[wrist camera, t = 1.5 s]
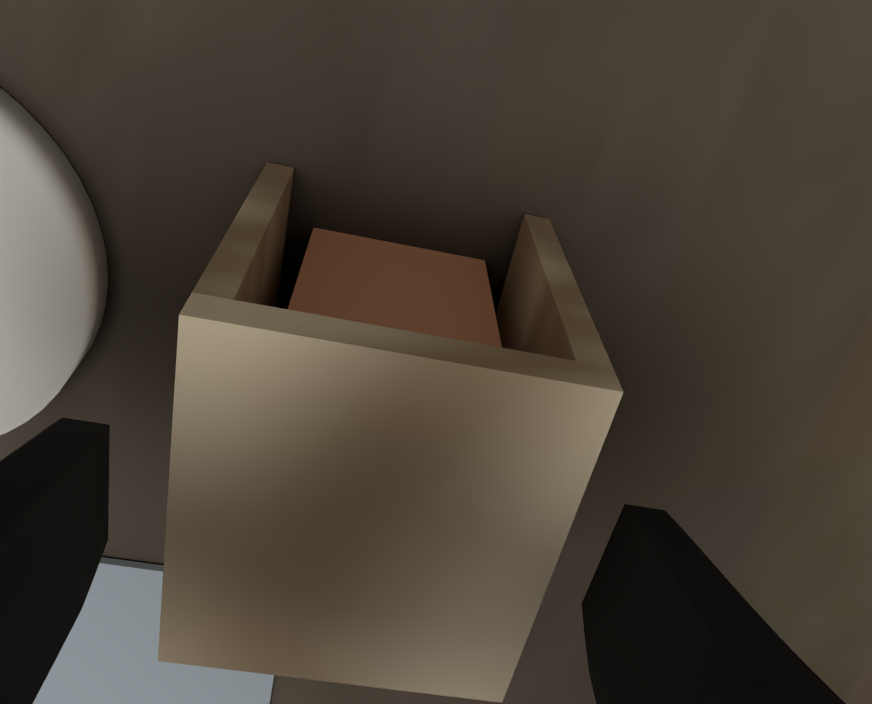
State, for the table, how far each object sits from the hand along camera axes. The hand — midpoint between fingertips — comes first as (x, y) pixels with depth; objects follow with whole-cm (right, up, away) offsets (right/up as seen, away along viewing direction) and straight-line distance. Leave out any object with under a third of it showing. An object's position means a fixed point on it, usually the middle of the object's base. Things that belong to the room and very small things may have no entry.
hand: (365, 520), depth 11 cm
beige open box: (0, +3, +5) cm, 6 cm away
